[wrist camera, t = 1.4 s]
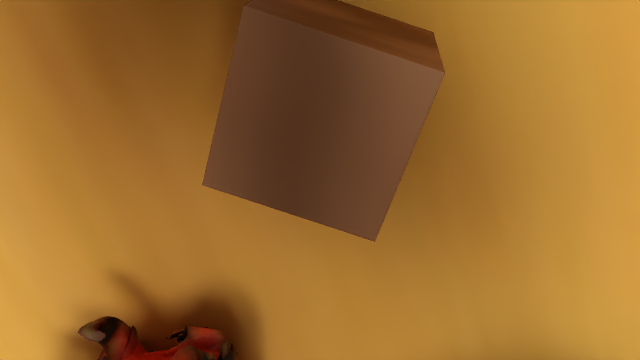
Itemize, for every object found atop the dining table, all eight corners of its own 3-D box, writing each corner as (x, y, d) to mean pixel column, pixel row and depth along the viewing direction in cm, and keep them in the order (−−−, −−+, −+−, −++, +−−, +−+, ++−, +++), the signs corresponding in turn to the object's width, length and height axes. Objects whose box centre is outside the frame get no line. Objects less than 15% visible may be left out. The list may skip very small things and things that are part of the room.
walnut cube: (433, 31, 18) (445, 72, 13) (380, 167, 20) (374, 241, 16) (282, -19, 18) (243, 5, 13) (246, 123, 20) (202, 185, 15)
